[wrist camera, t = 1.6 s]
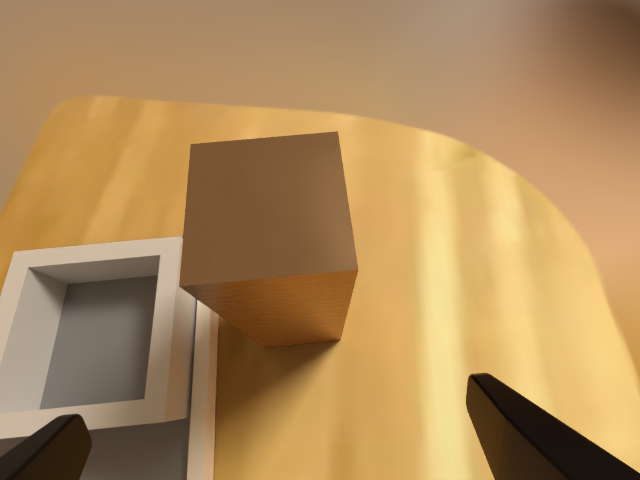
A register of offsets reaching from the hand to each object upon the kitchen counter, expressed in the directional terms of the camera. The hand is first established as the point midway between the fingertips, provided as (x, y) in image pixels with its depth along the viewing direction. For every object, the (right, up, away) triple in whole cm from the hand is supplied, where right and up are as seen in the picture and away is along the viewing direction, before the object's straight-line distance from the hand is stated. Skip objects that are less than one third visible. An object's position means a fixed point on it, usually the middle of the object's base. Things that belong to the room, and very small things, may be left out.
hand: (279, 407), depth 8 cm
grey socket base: (-11, -6, +11) cm, 16 cm away
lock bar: (0, 0, +13) cm, 13 cm away
